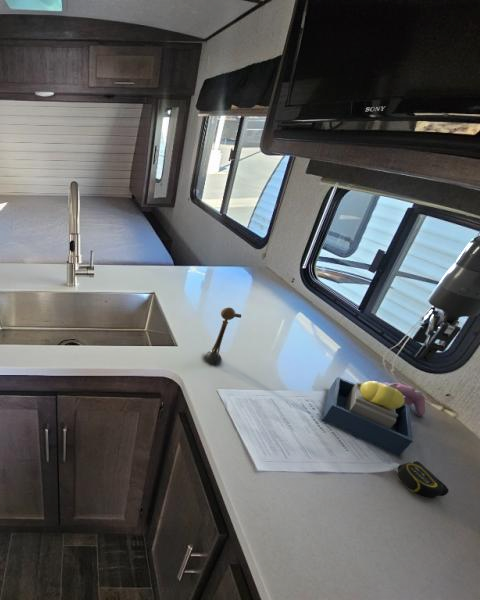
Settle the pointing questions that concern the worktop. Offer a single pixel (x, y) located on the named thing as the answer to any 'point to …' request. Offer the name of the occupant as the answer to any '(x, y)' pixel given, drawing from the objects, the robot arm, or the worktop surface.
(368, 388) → the yellow capsule
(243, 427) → the worktop surface
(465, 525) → the worktop surface
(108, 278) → the worktop surface
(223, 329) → the wooden tabletop sculpture
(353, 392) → the block
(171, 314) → the worktop surface
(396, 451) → the crate
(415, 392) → the video game controller
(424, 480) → the tape measure
